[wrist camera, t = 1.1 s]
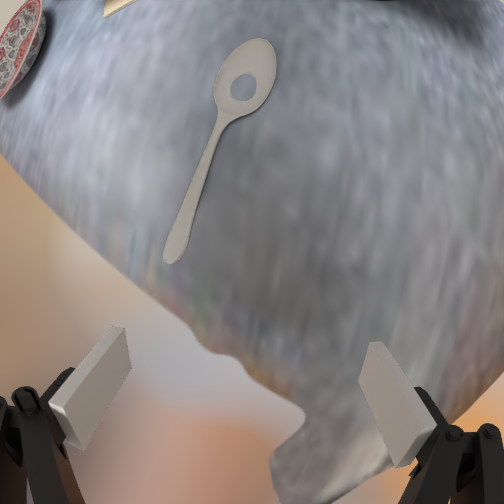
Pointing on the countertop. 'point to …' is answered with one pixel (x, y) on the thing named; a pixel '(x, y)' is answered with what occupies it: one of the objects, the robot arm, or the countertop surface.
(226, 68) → the spoon
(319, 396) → the countertop surface
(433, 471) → the robot arm
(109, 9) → the cream cloth
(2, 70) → the ceramic bowl
